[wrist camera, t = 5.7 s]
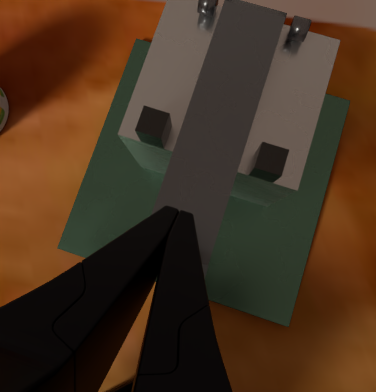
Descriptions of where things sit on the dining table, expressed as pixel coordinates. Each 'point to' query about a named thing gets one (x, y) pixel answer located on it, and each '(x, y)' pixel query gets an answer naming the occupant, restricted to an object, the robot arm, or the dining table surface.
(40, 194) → the dining table surface
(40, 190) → the dining table surface
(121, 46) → the dining table surface
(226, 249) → the base
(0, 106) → the supplement bottle
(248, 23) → the grey long flat bar
